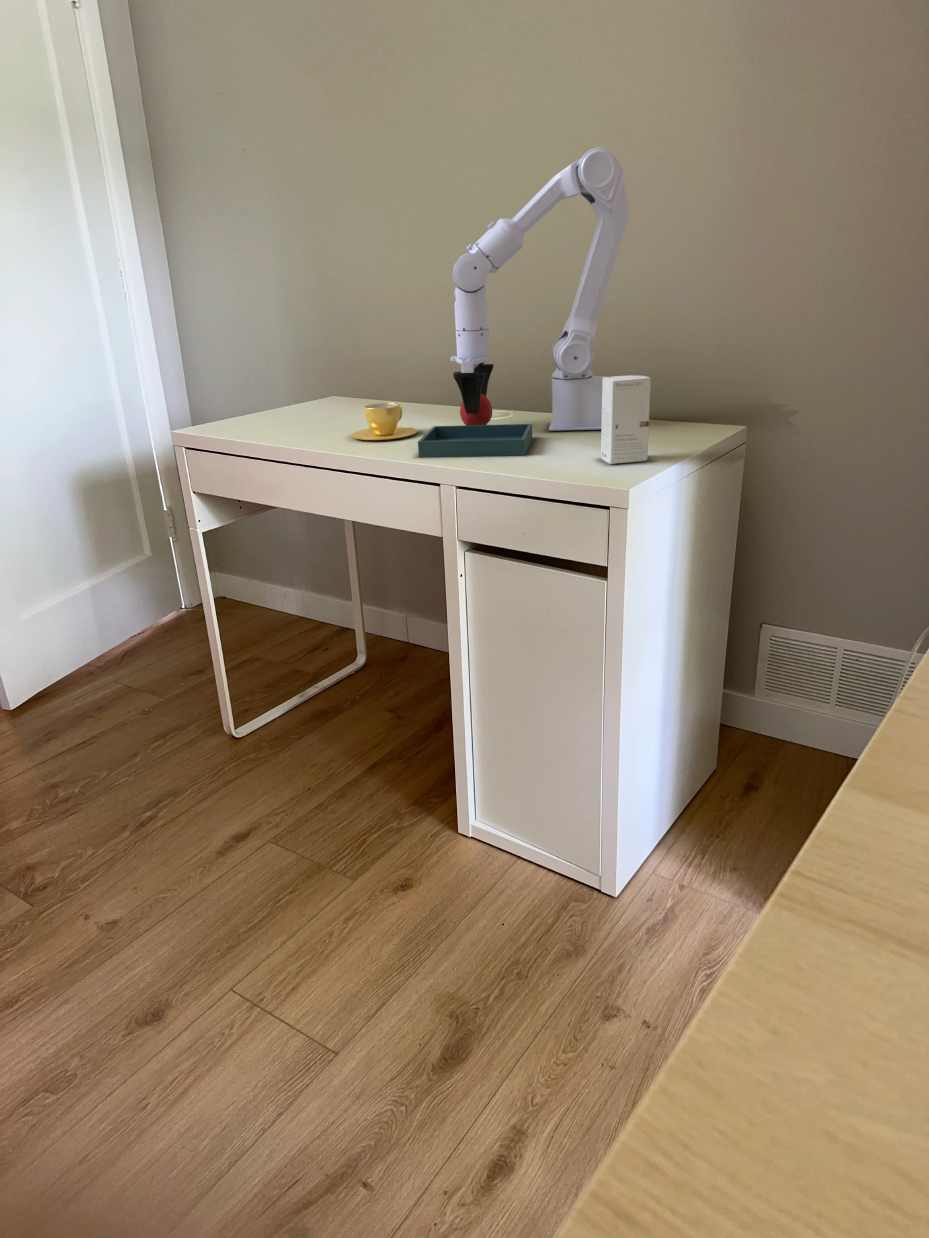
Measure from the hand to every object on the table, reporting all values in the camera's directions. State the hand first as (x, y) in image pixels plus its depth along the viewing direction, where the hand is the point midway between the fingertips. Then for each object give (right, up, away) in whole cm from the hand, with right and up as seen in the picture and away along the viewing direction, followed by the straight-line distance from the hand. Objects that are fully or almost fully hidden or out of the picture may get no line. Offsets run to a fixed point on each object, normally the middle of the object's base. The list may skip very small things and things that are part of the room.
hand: (475, 409), depth 152 cm
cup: (-17, -4, +4) cm, 17 cm away
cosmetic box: (+22, -14, -24) cm, 36 cm away
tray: (0, -9, -11) cm, 14 cm away
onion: (0, -4, +2) cm, 4 cm away
